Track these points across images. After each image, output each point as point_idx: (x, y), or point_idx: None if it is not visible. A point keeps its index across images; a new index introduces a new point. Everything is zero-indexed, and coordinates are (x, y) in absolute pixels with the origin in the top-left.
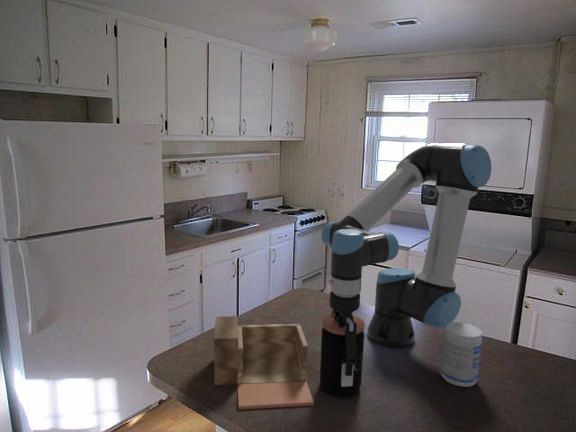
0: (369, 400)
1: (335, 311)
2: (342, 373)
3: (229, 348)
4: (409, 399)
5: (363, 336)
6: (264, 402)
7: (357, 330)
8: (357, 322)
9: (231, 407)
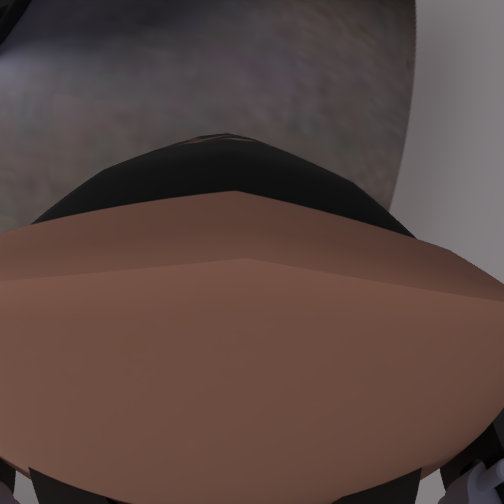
0: (292, 122)
1: (3, 473)
2: None
3: None
4: (305, 5)
5: (397, 221)
6: None
7: (496, 413)
8: (283, 477)
9: None
